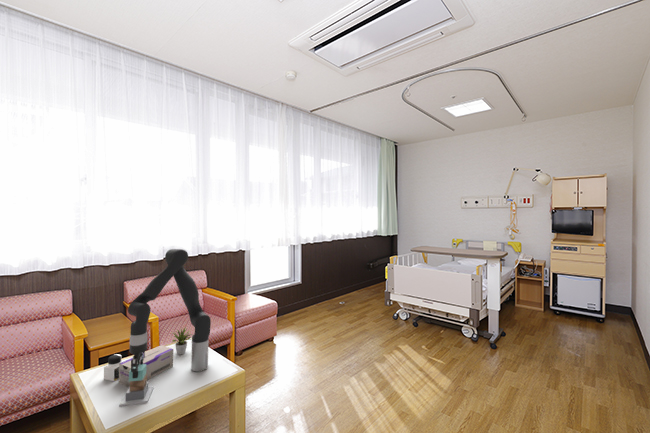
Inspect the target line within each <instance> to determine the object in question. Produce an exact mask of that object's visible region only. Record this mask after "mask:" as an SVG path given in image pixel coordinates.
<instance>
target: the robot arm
mask: <svg viewBox="0 0 650 433" xmlns="http://www.w3.org/2000/svg"><path fill="white" fill-rule="evenodd" d="M164 259H165V263H166V264H167V266H166V267H165V268H164V269H163V270H162V271H161V272H160V273H159V274H157V275H156V276H155V277H154V278H153V279H152V280H150V282H149V283H148V285H147V286H146V287H145V288H144V290H143V291H142V292H141V293H140V294H139V295H138V296H137V297H135V298H134V299H133V300H132V301H131V303H130V304H129V306H128V308H127V312H128V314H129V315H131V316H133V317H135V320H133V321H132V322H131V324H130V336H129V353H130V354H131V355H133V356H132V357H131V358H132V360H131V372H133V375H132V378H133V379H134V378H137V377H138V368H139V365H142V364H143V361H144V358H145V352H147V351H148V350H147V349H148V321H149V318H150V316H151V315H150V314H151V305H150V304H148V303H149V302H152V301H155V300H156V299H157V297H158V296H159V295H160V294H161V292H162V291H163V290H164V288H165V286H166V285H167V284H168V282H169V281H170V280H171V279H172V278H173V279H174V281H175V283H176V285H177V289H178V291H179V294H180V296H181V298H182V300H183V303H184V305H185V307H186V310H187V312H188V317H189V320H190V324H191V325H192V326H193V328H194V333H193V334H192V335H191V337H192V338H191V358H190V359H191V362H190V370H191V371H192V370H193V371H192V372H194V371H199V372H202V371H201V370H203V371H205V370H204V369H206V368H207V367H208V366H209V336H210V334H211V326H212V325H211V324H212V323H211V322H212V321H211V317H210V316H209V314H208V313H205V312H204V310H203V308H202V306H201V304H200V300H199V298H200V294H199V290H198V287H197V284H196V281H195V280H194V278H192V276H191V275H190V274H189V273H188V272H187V271H186V269H185V267H184V265H185V264H186V263H187V261H188V260H189V253H188V251H187V250H185V249H181V248H172V249H171V248H170V249H168V250H167V251H166V253H165V255H164ZM137 363H138V364H137ZM134 367H136V368H134ZM208 368H209V367H208ZM208 368H207V369H208ZM207 369H206V370H207Z"/></svg>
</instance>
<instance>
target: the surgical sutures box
mask: <svg viewBox="0 0 650 433" xmlns="http://www.w3.org/2000/svg"><path fill="white" fill-rule="evenodd" d="M132 358H133V357H131V358H129V359H126V360H125V361H121V362H122V363H119V379H118V383H120V384H121V385H124V386H125V387H128V388H129V386H130V382H129V371H130V369H131V360H132ZM137 364H138V363H137ZM143 364H146V373H147V380H150V379H151V378H153V377H155V376H157V375H159V374H160V373H163V372H164V371H167V370H168V369H170V368H172V367H173V366H174V348H171V347H170V346H166V345H163V344H160V345H159V346H156V347H154V348H151V349H149V350H146V351H145V358H144V361H143Z"/></svg>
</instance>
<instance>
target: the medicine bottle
mask: <svg viewBox="0 0 650 433" xmlns="http://www.w3.org/2000/svg"><path fill="white" fill-rule="evenodd" d="M122 362H123V361H122V355H121V354H117V353H116V354H115V353H114V354H112V355H110V356H109V357H107V365H105V366H104V367H103V380H104V381H111V382H115V381H117V380H119V363H122Z"/></svg>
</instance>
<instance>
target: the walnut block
mask: <svg viewBox="0 0 650 433" xmlns="http://www.w3.org/2000/svg"><path fill="white" fill-rule="evenodd" d="M147 382H148V381H147V373H146V375H145V377H144V378H143V380H140V381H130V391H137V390H144V387H145V385H146V383H147Z"/></svg>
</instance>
